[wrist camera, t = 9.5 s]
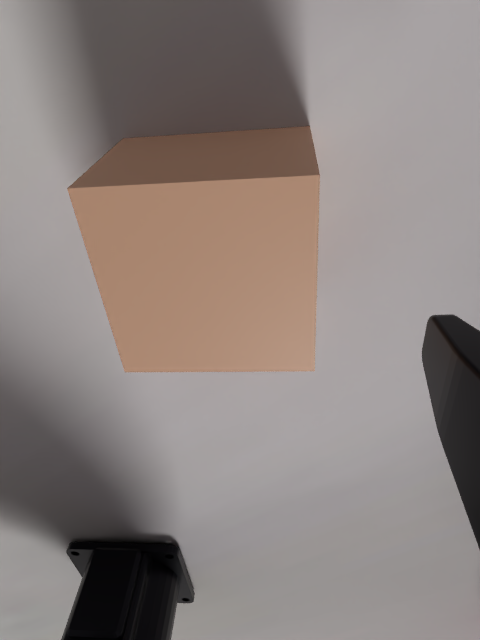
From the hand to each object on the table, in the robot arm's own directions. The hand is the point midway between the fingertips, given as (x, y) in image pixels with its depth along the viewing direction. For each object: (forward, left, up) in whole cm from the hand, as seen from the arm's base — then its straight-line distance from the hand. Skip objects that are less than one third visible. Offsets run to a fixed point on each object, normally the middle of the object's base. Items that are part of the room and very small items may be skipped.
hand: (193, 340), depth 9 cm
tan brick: (0, 0, -6) cm, 6 cm away
